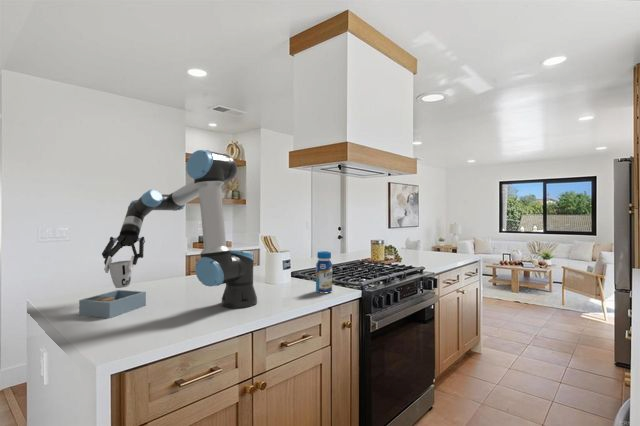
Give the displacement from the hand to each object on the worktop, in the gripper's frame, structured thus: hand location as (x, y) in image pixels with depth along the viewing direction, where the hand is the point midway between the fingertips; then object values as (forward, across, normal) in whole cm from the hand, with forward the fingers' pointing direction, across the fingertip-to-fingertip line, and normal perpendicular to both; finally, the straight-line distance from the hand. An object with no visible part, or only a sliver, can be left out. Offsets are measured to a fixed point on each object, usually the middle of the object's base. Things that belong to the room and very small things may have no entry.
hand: (118, 270), depth 146 cm
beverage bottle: (-2, -88, -24) cm, 92 cm away
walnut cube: (+14, +3, -7) cm, 16 cm away
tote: (+11, +1, -11) cm, 16 cm away
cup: (+3, -1, -7) cm, 8 cm away
